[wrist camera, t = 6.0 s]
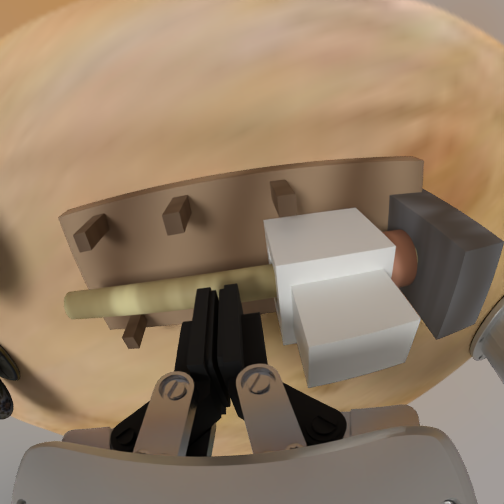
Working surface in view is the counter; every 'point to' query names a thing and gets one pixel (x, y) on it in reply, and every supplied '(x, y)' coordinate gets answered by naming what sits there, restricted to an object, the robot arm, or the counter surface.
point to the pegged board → (255, 248)
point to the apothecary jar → (6, 368)
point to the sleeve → (338, 294)
